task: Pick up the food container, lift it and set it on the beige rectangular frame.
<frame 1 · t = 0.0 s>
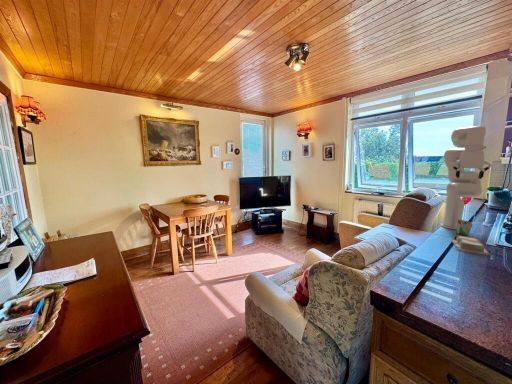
hand: (468, 178, 130), 37 cm above the worktop, tool pointing down, fingers open, 9 cm apart
beige rectangular frame: (468, 247, 122), on the worktop
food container: (463, 238, 135), on the worktop
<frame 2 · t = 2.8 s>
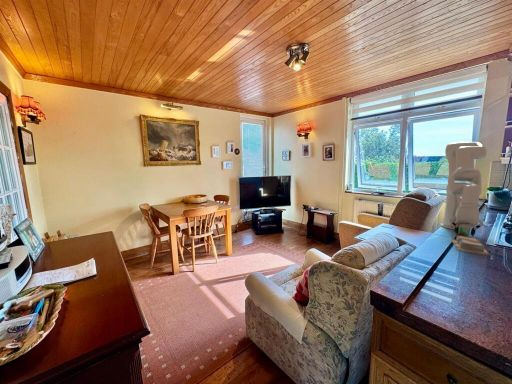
hand: (464, 233, 135), 3 cm above the worktop, tool pointing down, fingers open, 6 cm apart
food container: (463, 238, 135), on the worktop, touching gripper
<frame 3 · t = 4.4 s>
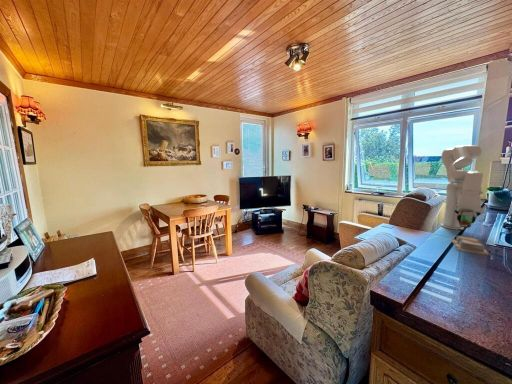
hand: (465, 221, 135), 10 cm above the worktop, tool pointing down, fingers closed on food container, 5 cm apart
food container: (466, 226, 135), point 7 cm above the worktop, touching gripper
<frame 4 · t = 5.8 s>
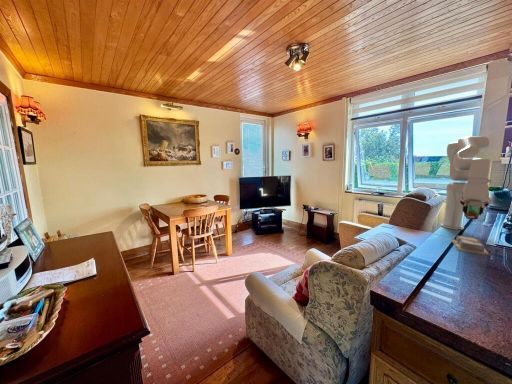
hand: (472, 213, 123), 18 cm above the worktop, tool pointing down, fingers closed on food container, 5 cm apart
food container: (473, 218, 123), point 15 cm above the worktop, touching gripper
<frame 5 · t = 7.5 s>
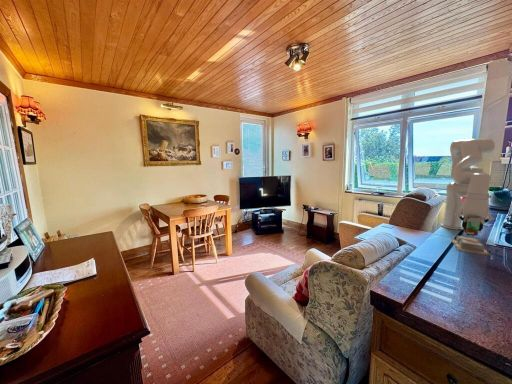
hand: (471, 229, 120), 11 cm above the worktop, tool pointing down, fingers closed on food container, 5 cm apart
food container: (472, 234, 120), point 8 cm above the worktop, touching gripper
when the fingers open (7 cm above the worktop, at t = 8.5 s): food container stays where it is, resting on beige rectangular frame.
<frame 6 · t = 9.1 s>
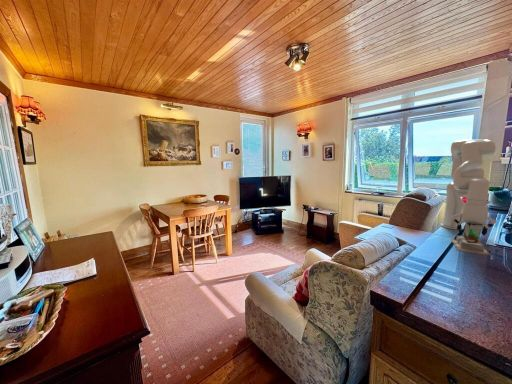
hand: (470, 233, 120), 8 cm above the worktop, tool pointing down, fingers open, 9 cm apart
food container: (472, 241, 121), point 4 cm above the worktop, touching beige rectangular frame
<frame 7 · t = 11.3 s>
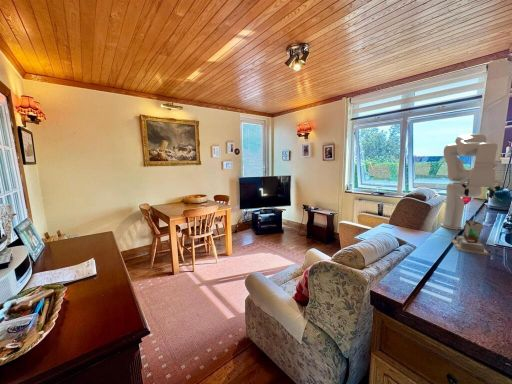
hand: (478, 196, 124), 27 cm above the worktop, tool pointing down, fingers open, 9 cm apart
nothing on the worktop moved.
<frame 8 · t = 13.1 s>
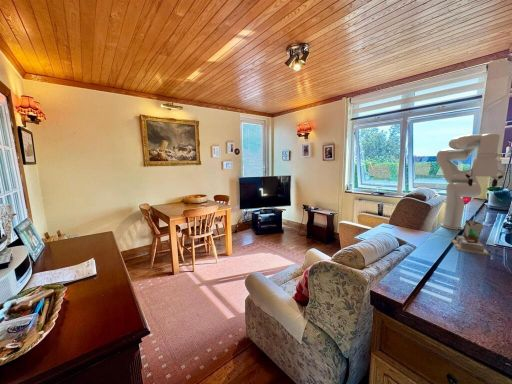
hand: (481, 186, 128), 32 cm above the worktop, tool pointing down, fingers open, 9 cm apart
nothing on the worktop moved.
at the end: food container 1.3 cm off-centre on the beige rectangular frame, point 3.9 cm above the beige rectangular frame's base; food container tilted 0°; the gripper is holding nothing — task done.
